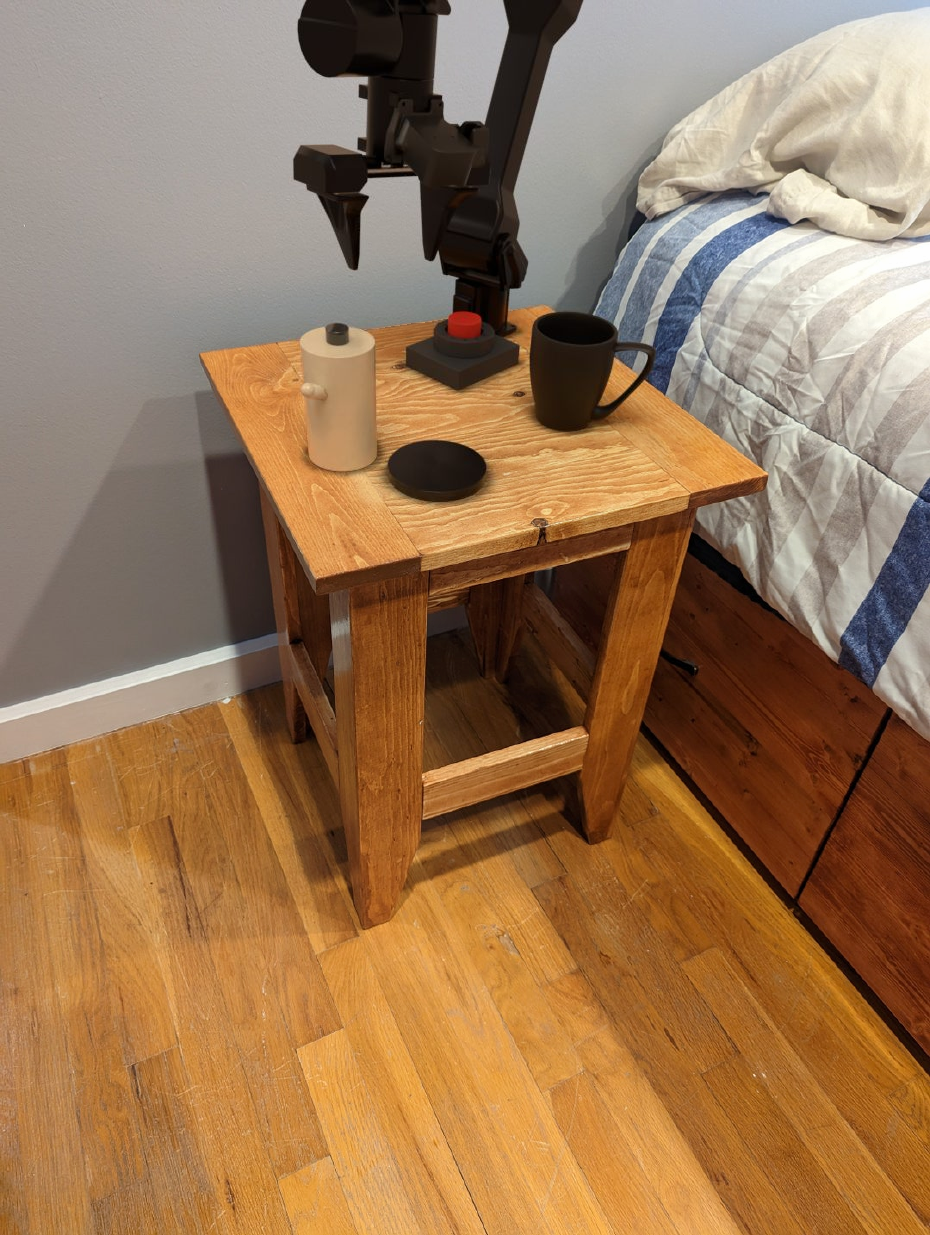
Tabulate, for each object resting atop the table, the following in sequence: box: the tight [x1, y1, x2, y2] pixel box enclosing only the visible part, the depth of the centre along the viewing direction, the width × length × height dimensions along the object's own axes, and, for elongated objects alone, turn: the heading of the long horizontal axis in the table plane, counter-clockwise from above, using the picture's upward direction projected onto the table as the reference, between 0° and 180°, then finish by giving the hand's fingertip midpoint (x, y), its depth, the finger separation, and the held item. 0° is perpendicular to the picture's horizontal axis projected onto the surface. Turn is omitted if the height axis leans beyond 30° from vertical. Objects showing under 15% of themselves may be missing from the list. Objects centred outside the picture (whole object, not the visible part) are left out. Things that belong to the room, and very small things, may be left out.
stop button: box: [447, 312, 481, 338], centre depth 94 cm, size 4×4×2 cm
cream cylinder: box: [299, 322, 378, 472], centre depth 76 cm, size 9×6×12 cm
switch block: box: [405, 318, 521, 391], centre depth 95 cm, size 10×8×4 cm
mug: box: [528, 310, 657, 432], centre depth 85 cm, size 8×12×10 cm
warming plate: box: [387, 439, 488, 503], centre depth 79 cm, size 9×9×1 cm
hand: (392, 264), depth 84 cm, fingers open, 9 cm apart
